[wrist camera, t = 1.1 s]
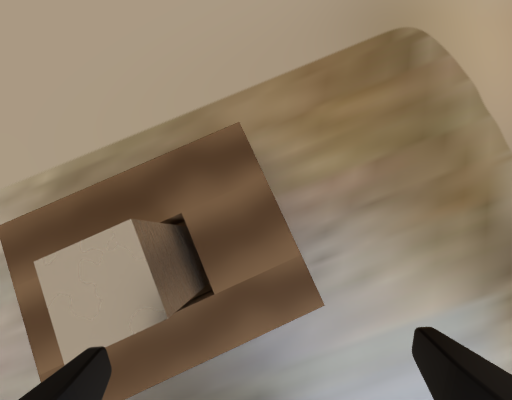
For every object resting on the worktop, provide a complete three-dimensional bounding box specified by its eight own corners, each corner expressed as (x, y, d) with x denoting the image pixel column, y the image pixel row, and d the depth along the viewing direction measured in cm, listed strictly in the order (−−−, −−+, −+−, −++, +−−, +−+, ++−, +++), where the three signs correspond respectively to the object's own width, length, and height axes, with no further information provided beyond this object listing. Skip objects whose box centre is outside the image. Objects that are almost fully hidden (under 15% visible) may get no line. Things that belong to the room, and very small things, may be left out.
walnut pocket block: (309, 289, 23) (324, 305, 18) (105, 384, 22) (55, 432, 17) (244, 146, 25) (239, 121, 20) (56, 228, 24) (-4, 226, 19)
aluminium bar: (211, 280, 21) (167, 318, 11) (156, 305, 21) (64, 365, 11) (189, 226, 22) (131, 218, 12) (137, 250, 22) (33, 261, 12)
